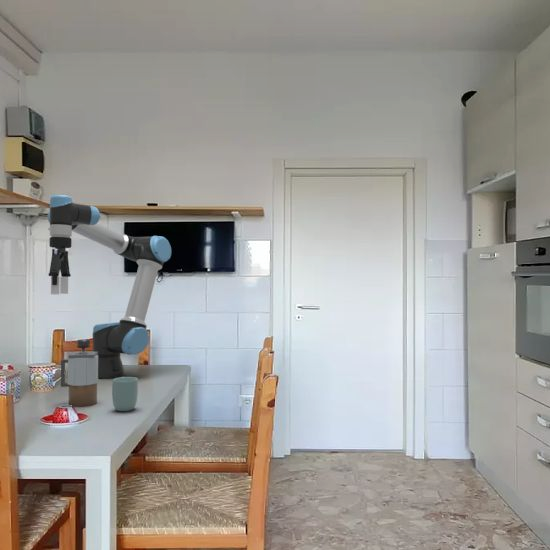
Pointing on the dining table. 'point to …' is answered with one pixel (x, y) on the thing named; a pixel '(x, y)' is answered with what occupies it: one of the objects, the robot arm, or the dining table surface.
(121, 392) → the cup
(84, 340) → the plunger
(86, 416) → the dining table surface
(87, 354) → the carafe
